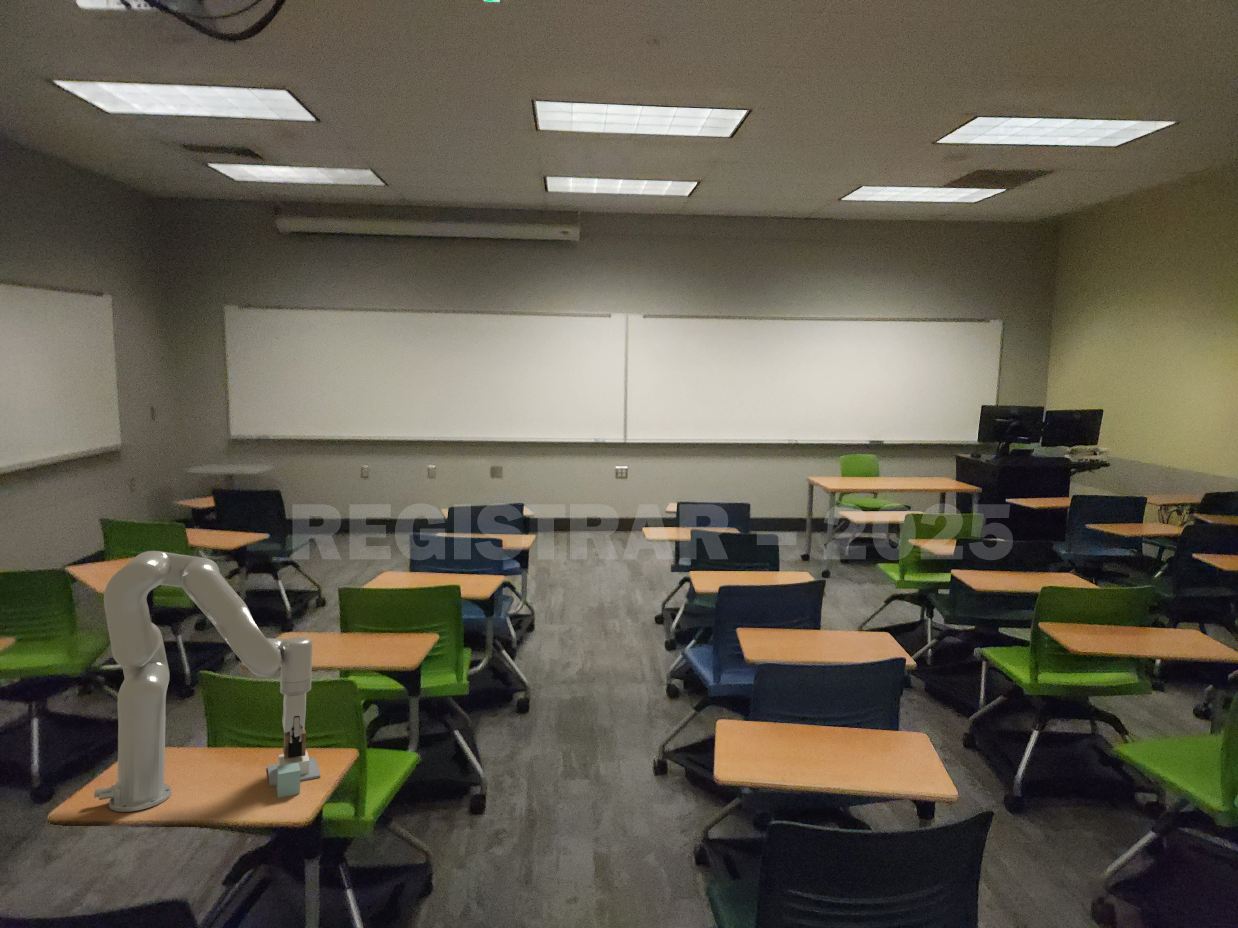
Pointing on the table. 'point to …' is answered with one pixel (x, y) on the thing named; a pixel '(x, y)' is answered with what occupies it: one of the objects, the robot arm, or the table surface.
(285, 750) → the walnut block
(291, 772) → the teal block
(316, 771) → the plinth
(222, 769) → the table surface
